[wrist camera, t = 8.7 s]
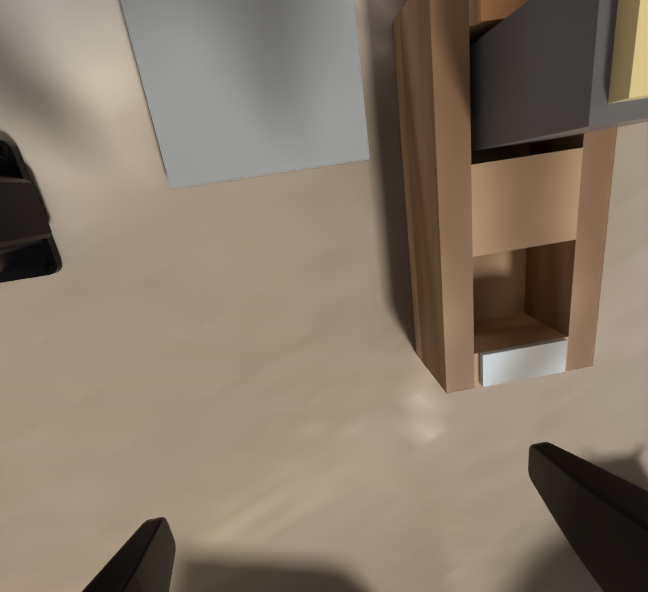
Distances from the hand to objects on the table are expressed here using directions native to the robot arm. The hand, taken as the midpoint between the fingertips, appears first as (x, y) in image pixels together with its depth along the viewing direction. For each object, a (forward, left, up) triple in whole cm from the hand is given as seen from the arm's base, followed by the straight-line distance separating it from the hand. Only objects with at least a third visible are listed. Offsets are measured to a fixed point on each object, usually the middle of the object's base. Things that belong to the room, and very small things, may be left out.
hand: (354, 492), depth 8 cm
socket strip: (+10, +5, -13) cm, 17 cm away
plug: (+10, +10, -12) cm, 18 cm away
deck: (-1, +13, -13) cm, 18 cm away
